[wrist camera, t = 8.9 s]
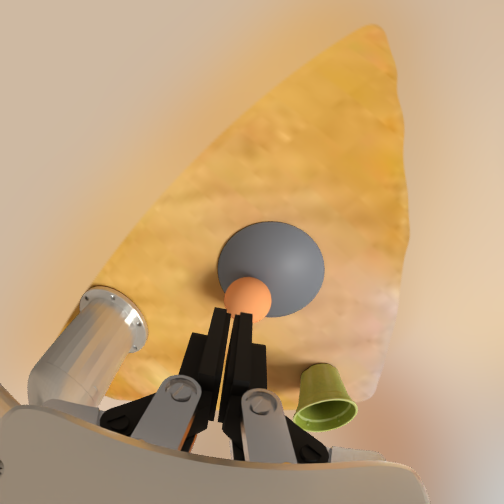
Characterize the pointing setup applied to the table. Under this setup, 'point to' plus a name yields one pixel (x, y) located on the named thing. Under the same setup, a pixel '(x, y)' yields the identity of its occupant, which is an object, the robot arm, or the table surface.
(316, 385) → the plant pot
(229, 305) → the ball
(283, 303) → the disc
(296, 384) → the table surface
